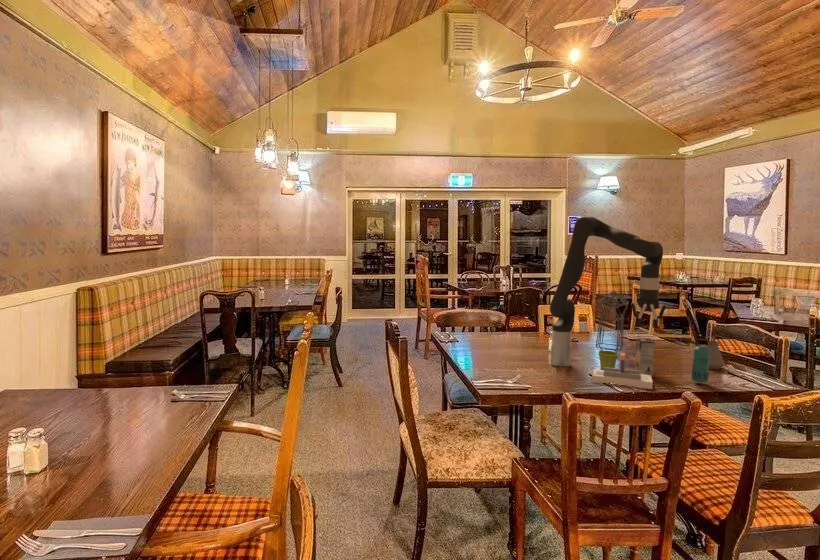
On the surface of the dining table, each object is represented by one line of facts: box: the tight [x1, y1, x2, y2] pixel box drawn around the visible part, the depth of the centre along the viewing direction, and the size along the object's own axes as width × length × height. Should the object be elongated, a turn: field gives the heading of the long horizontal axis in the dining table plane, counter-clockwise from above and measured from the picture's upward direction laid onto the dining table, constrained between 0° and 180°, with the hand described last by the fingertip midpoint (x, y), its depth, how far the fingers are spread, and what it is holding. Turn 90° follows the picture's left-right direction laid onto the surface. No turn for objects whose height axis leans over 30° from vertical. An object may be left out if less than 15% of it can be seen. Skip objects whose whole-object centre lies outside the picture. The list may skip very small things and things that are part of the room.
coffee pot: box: [679, 336, 726, 370], centre depth 253 cm, size 21×12×15 cm, turn 87°
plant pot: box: [597, 350, 620, 370], centre depth 244 cm, size 9×9×9 cm
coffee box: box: [634, 337, 656, 377], centre depth 240 cm, size 9×6×16 cm
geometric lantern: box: [595, 291, 630, 353], centre depth 276 cm, size 16×16×35 cm
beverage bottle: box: [691, 338, 710, 383], centre depth 223 cm, size 6×7×20 cm
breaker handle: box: [618, 352, 626, 373], centre depth 224 cm, size 3×6×9 cm, turn 158°
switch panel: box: [591, 367, 653, 390], centre depth 224 cm, size 24×12×5 cm, turn 68°
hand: (647, 327), depth 219 cm, fingers open, 4 cm apart
